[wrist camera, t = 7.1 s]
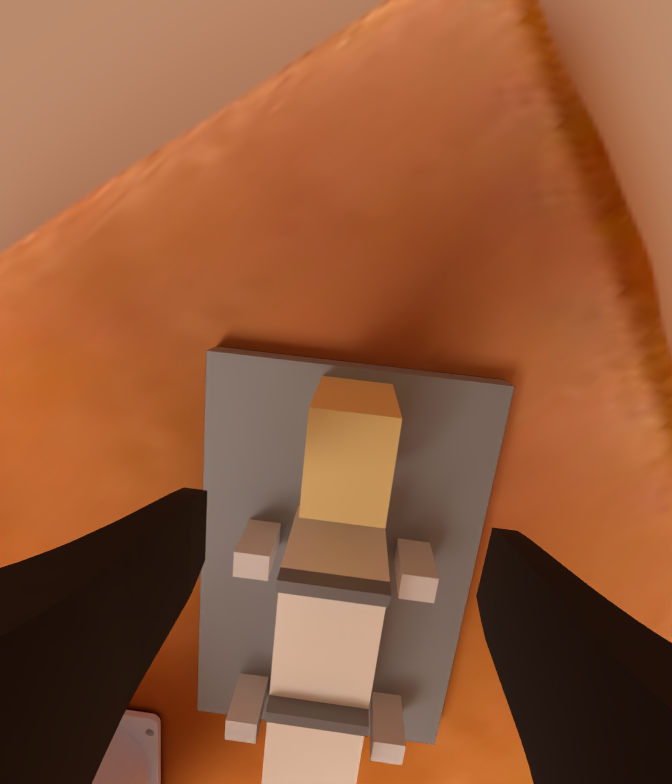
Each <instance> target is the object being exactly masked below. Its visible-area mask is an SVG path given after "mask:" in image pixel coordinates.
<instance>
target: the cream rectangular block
mask: <svg viewBox="0 0 672 784" xmlns="http://www.w3.org/2000/svg"><path fill="white" fill-rule="evenodd" d="M299 509H300V505H298V508H297V511H296V515H295V518H294V521H293V525H292V528H291V532H290V535H289V539H288V542H287V546H286V549H285V553H284V556H283V560H282V563H281V567H280V570H279V574H278V577H277V582H276V592H277V593H278V601H277V612H276V624H275V635H274V647H273V658H272V670H271V681H270V693H269V698H268V703H267V707H266V712H265V722H267V727H266V739H265V750H264V762H263V773H262V784H356V782H357V776H358V770H359V764H360V758H361V752H362V746H363V740H364V736H365V737H367V735H368V730H369V704H370V698H371V692H372V686H373V680H374V674H375V669H376V663H377V657H378V651H379V645H380V639H381V633H382V627H383V621H384V615H385V609H386V607H387V608H389V606H390V600H391V588H390V576H389V565H388V554H387V542H386V531H385V528H377V527H369V526H362V525H354V524H346V523H338V522H330V521H323V520H315V519H307V518H299Z"/></svg>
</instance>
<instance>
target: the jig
mask: <svg viewBox="0 0 672 784" xmlns="http://www.w3.org/2000/svg"><path fill="white" fill-rule="evenodd" d="M322 376H328V377H337V378H345V379H354V380H362V381H371V382H379V383H388V384H393V387H394V390H395V394H396V398H397V401H398V405H399V408H400V412H401V415H402V424H401V430H400V437H399V443H398V450H397V456H396V463H395V469H394V476H393V482H392V489H391V495H390V502H389V508H388V515H387V521H386V528H385V531H386V542H387V554H388V565H389V576H390V588H391V600H390V606H389V608H387V607H386V609H385V615H384V621H383V627H382V633H381V639H380V645H379V651H378V657H377V663H376V669H375V674H374V680H373V686H372V692H371V698H370V704H369V730H368V735H370V761H376V762H383V763H390V764H397V765H402V762H403V757H404V752H405V747H406V744H405V740H406V741H413V742H420V743H426V744H433V745H435V741H436V737H437V732H438V728H439V723H440V719H441V714H442V710H443V705H444V701H445V696H446V692H447V687H448V683H449V678H450V674H451V669H452V665H453V660H454V656H455V651H456V647H457V642H458V638H459V633H460V629H461V624H462V620H463V615H464V611H465V606H466V602H467V597H468V593H469V588H470V584H471V579H472V575H473V570H474V566H475V561H476V557H477V552H478V548H479V543H480V539H481V534H482V530H483V525H484V521H485V516H486V512H487V507H488V503H489V498H490V494H491V489H492V485H493V480H494V476H495V471H496V467H497V462H498V458H499V453H500V449H501V444H502V440H503V435H504V431H505V427H506V422H507V418H508V413H509V409H510V404H511V400H512V395H513V391H514V386H513V385H512V384H510V383H509V382H507V381H506V380H502V379H493V378H484V377H476V376H467V375H459V374H450V373H441V372H433V371H424V370H415V369H407V368H398V367H389V366H381V365H372V364H364V363H355V362H346V361H338V360H329V359H320V358H312V357H303V356H295V355H286V354H277V353H269V352H260V351H251V350H243V349H234V348H226V347H217V346H216V347H214V348H212V349H209V350H207V361H206V399H205V436H204V474H203V490H206V491H207V519H206V552H205V562H204V564H203V567H202V569H201V588H200V626H199V663H198V701H197V711H204V712H211V713H218V714H225V715H227V717H226V722H225V739H226V740H232V741H239V742H246V743H253V744H256V740H257V736H258V731H259V727H260V723H261V720H265V712H266V707H267V703H268V698H269V693H270V681H271V670H272V658H273V647H274V635H275V624H276V612H277V601H278V593H277V592H276V582H277V577H278V574H279V570H280V567H281V563H282V560H283V556H284V553H285V549H286V546H287V542H288V539H289V535H290V532H291V528H292V525H293V521H294V518H295V515H296V511H297V508H298V505H300V498H301V488H302V477H303V466H304V455H305V445H306V434H307V423H308V412H309V406H310V404H311V401H312V399H313V397H314V394H315V392H316V389H317V387H318V385H319V382H320V380H321V378H322Z"/></svg>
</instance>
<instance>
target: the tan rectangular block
mask: <svg viewBox="0 0 672 784" xmlns="http://www.w3.org/2000/svg"><path fill="white" fill-rule="evenodd" d="M401 424H402V415H401V412H400V408H399V405H398V401H397V398H396V394H395V390H394V387H393V384H388V383H379V382H371V381H362V380H354V379H345V378H337V377H328V376H322V378H321V380H320V382H319V385H318V387H317V389H316V392H315V394H314V397H313V399H312V401H311V404H310V406H309V412H308V423H307V434H306V445H305V455H304V466H303V477H302V488H301V498H300V509H299V518H307V519H315V520H323V521H330V522H338V523H346V524H354V525H362V526H369V527H377V528H386V521H387V515H388V508H389V502H390V495H391V489H392V482H393V476H394V469H395V463H396V456H397V450H398V443H399V437H400V430H401Z"/></svg>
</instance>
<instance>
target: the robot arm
mask: <svg viewBox="0 0 672 784" xmlns="http://www.w3.org/2000/svg"><path fill="white" fill-rule="evenodd" d="M206 519H207V491H206V490H198V489H190V488H182V489H179V490H177V491H175V492H173V493H171V494H169V495H167V496H165V497H163V498H161V499H159V500H157V501H155V502H153V503H151V504H149V505H147V506H145V507H143V508H141V509H139V510H137V511H135V512H134V513H132V514H130V515H128V516H126V517H124V518H122V519H120V520H118V521H116V522H114V523H111V524H109V525H107V526H105V527H103V528H101V529H98V530H96V531H94V532H92V533H90V534H87V535H85V536H83V537H81V538H79V539H77V540H74V541H72V542H70V543H67V544H65V545H62V546H60V547H57V548H55V549H52V550H50V551H47V552H45V553H42V554H39V555H36V556H34V557H31V558H28V559H26V560H23V561H20V562H17V563H14V564H11V565H8V566H5V567H2V568H0V784H161V721H160V718H159V717H158V716H157V715H156V714H153V713H146V712H139V711H132V710H126V709H127V706H128V705H129V703H130V701H131V699H132V697H133V695H134V693H135V691H136V689H137V688H138V686H139V684H140V682H141V680H142V679H143V677H144V675H145V674H146V672H147V670H148V668H149V667H150V665H151V663H152V662H153V660H154V658H155V656H156V655H157V653H158V651H159V650H160V648H161V646H162V644H163V643H164V641H165V639H166V637H167V636H168V634H169V632H170V631H171V629H172V627H173V625H174V624H175V622H176V620H177V618H178V617H179V615H180V613H181V611H182V610H183V608H184V606H185V604H186V603H187V601H188V599H189V597H190V595H191V593H192V591H193V588H194V586H195V584H196V581H197V579H198V577H199V574H200V572H201V569H202V567H203V564H204V562H205V552H206ZM476 597H477V602H478V607H479V612H480V617H481V622H482V626H483V630H484V635H485V639H486V642H487V645H488V648H489V651H490V653H491V656H492V659H493V662H494V665H495V668H496V671H497V674H498V676H499V679H500V682H501V685H502V688H503V691H504V693H505V696H506V699H507V702H508V705H509V707H510V710H511V713H512V716H513V719H514V722H515V724H516V727H517V730H518V733H519V736H520V738H521V741H522V745H523V748H524V751H525V754H526V757H527V761H528V764H529V767H530V771H531V775H532V779H533V783H534V784H672V643H671V642H669V641H667V640H666V639H664V638H663V637H661V636H659V635H658V634H656V633H655V632H653V631H652V630H650V629H649V628H647V627H646V626H644V625H643V624H641V623H640V622H638V621H637V620H635V619H634V618H633V617H631V616H630V615H628V614H627V613H626V612H624V611H623V610H621V609H620V608H619V607H617V606H616V605H614V604H613V603H612V602H610V601H609V600H607V599H606V598H605V597H603V596H602V595H601V594H599V593H598V592H597V591H595V590H594V589H593V588H591V587H590V586H589V585H587V584H586V583H585V582H584V581H582V580H581V579H580V578H578V577H577V576H576V575H575V574H573V573H572V572H571V571H569V570H568V569H567V568H566V567H564V566H563V565H562V564H561V563H559V562H558V561H557V560H556V559H554V558H553V557H552V556H551V555H549V554H548V553H547V552H545V551H544V550H543V549H542V548H540V547H539V546H538V545H537V544H535V543H534V542H533V541H531V540H530V539H529V538H527V537H526V536H524V535H523V534H521V533H520V532H518V531H514V530H507V529H499V528H492V532H491V536H490V540H489V545H488V549H487V553H486V558H485V562H484V566H483V570H482V575H481V579H480V583H479V588H478V592H477V596H476Z"/></svg>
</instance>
